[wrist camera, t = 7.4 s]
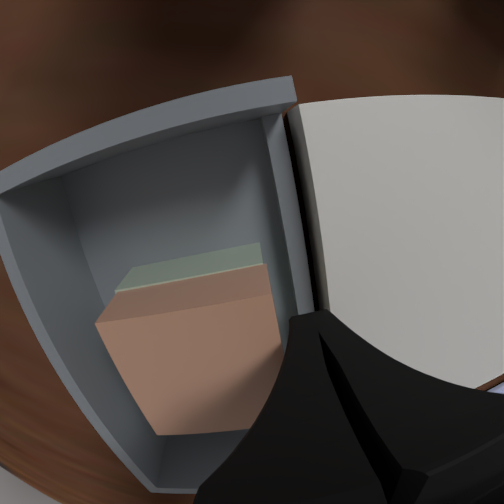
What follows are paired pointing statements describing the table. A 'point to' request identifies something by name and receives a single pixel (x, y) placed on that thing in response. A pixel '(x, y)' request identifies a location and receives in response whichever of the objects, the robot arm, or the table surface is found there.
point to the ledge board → (409, 225)
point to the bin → (151, 244)
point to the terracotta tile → (197, 349)
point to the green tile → (192, 267)
